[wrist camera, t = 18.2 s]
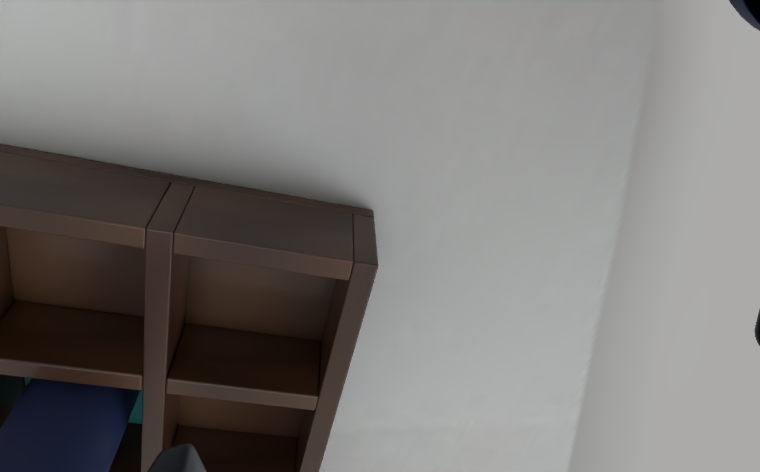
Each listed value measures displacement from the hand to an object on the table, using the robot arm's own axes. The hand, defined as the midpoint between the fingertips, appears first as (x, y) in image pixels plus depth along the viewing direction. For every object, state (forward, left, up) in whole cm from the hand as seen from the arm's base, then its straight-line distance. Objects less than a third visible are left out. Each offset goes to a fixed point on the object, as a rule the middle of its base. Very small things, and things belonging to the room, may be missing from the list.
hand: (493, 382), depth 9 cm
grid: (+10, +14, -12) cm, 21 cm away
